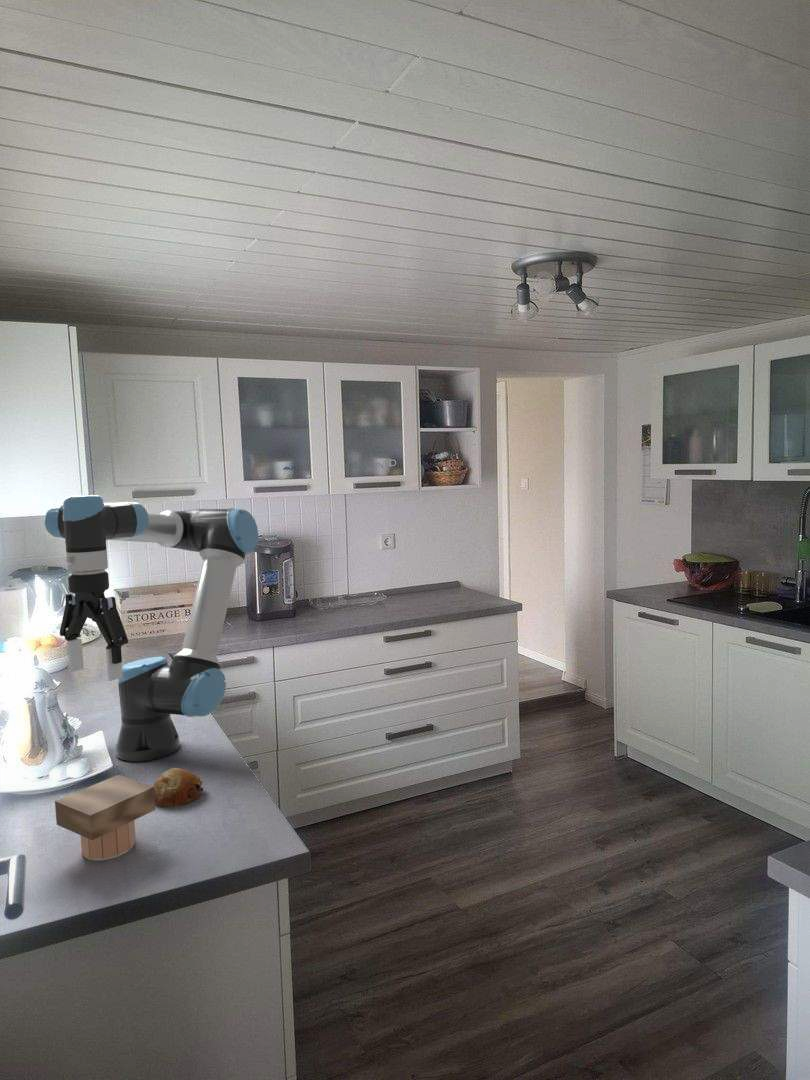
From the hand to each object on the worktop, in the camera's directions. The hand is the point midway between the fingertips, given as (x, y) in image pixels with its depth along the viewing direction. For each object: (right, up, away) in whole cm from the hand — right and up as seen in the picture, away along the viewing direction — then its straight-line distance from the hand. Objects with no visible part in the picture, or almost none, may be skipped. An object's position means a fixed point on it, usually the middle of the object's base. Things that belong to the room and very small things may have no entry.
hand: (95, 674), depth 146 cm
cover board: (+8, -24, -14) cm, 29 cm away
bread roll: (+15, -28, +8) cm, 33 cm away
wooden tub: (+8, -30, -13) cm, 34 cm away
